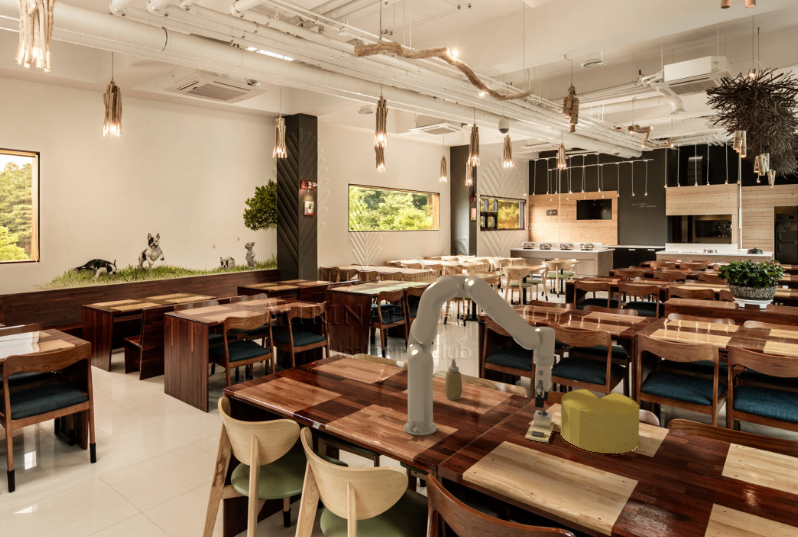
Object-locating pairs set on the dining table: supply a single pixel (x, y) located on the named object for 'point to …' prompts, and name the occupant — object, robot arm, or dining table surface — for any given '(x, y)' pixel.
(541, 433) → the peg board
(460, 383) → the squeeze bottle
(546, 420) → the link
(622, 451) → the cheese
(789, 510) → the dining table surface
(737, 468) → the dining table surface
